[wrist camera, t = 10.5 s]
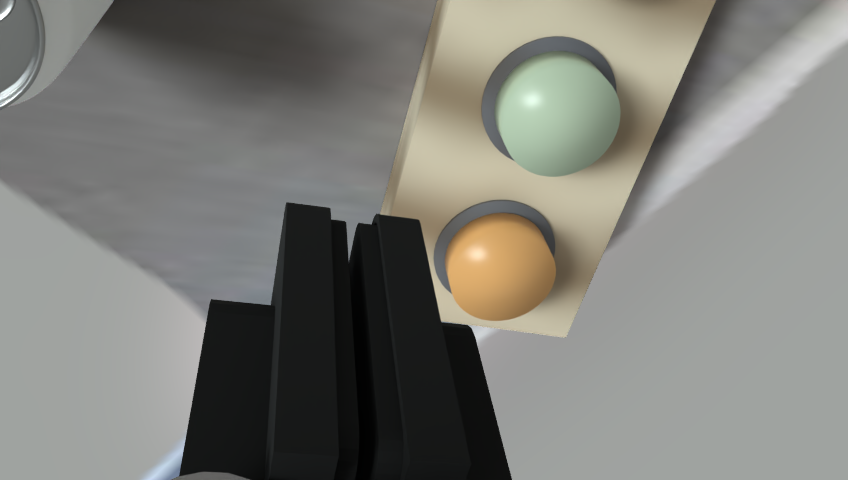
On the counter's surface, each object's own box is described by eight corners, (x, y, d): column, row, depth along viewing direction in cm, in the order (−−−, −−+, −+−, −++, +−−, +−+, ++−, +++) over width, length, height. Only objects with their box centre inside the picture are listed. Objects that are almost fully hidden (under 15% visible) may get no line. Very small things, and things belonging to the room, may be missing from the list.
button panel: (507, -261, 29) (523, -261, 27) (762, -178, 32) (795, -172, 30) (361, 282, 42) (364, 313, 39) (554, 310, 44) (566, 340, 42)
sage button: (514, 39, 33) (525, 54, 31) (624, 64, 34) (638, 79, 32) (480, 147, 35) (487, 165, 34) (582, 166, 36) (594, 185, 35)
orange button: (461, 204, 37) (468, 225, 35) (560, 221, 38) (571, 242, 36) (433, 291, 39) (438, 313, 38) (527, 304, 40) (535, 327, 39)
